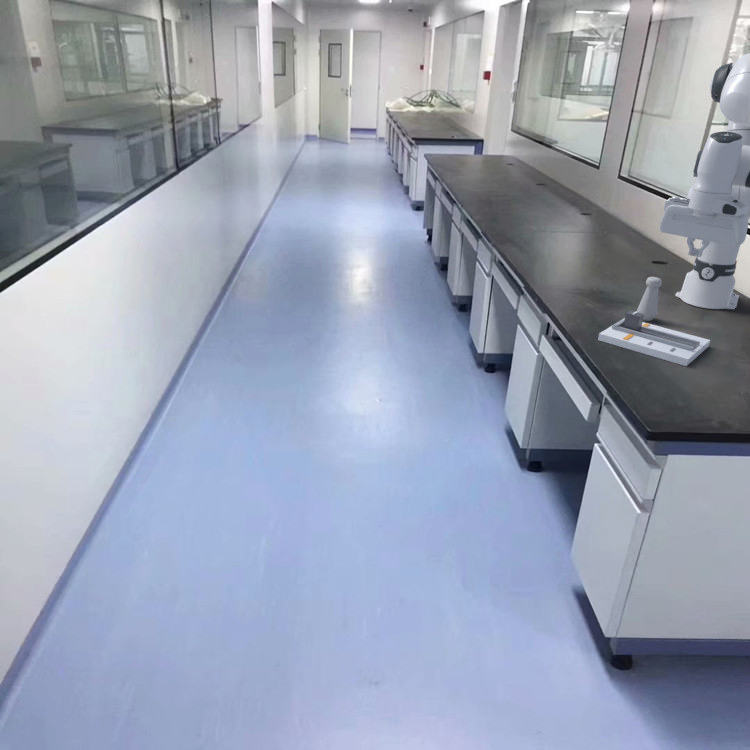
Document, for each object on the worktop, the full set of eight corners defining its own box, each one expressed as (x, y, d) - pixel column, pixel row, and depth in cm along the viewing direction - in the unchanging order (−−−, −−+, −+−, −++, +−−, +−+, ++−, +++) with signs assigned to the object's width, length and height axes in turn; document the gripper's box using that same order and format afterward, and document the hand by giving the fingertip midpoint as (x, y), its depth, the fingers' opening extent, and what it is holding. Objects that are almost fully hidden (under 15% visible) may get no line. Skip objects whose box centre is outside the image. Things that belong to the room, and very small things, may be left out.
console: (624, 323, 187) (626, 312, 185) (708, 346, 172) (711, 335, 171) (597, 340, 175) (600, 328, 173) (686, 366, 160) (689, 353, 159)
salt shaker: (650, 315, 194) (660, 275, 188) (659, 322, 188) (669, 281, 183) (632, 315, 193) (641, 274, 188) (640, 322, 188) (649, 280, 182)
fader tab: (626, 326, 179) (630, 309, 176) (640, 330, 176) (644, 313, 174) (622, 329, 177) (626, 312, 174) (636, 333, 174) (640, 315, 172)
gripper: (662, 197, 160) (650, 249, 166) (749, 210, 147) (732, 267, 154) (671, 193, 164) (659, 245, 170) (756, 206, 151) (740, 261, 158)
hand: (694, 255), depth 162 cm, fingers closed
